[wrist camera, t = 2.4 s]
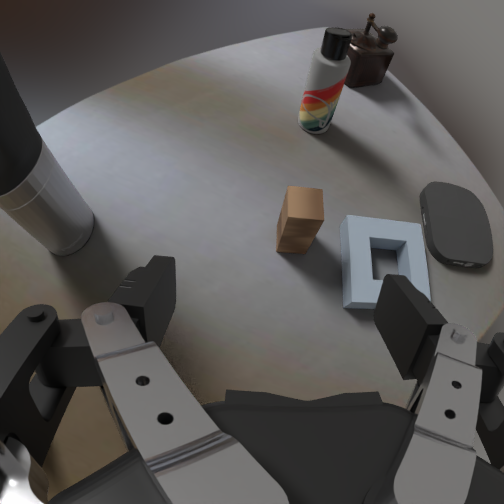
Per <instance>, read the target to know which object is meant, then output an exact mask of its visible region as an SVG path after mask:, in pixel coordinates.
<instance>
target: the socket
mask: <svg viewBox="0 0 504 504" xmlns="http://www.w3.org/2000/svg"><path fill="white" fill-rule="evenodd" d="M340 238H341V257H342V284H343V308H359V309H375V307H376V304H377V300H378V297H379V293H380V290H381V286H382V283H383V280H373V276H372V262H371V250H370V248H377V249H388V250H396V253H397V263H398V273H399V275H405V276H406V277H407V278H408V279H409V281H410V282H411V283H412V284H413V285H414V286H415V288H416V289H418V290H419V291H420V292H422V293H423V294H425V295H426V297H427V298H428V299H429V300H430V301H431V299H430V288H429V279H428V270H427V262H426V255H425V248H424V242H423V235H422V229H421V224H416V223H409V222H401V221H394V220H386V219H377V218H369V217H360V216H352V215H347V216H346V218H345V219H344V221H343V222H342V224H341V225H340ZM430 303H431V302H430Z"/></svg>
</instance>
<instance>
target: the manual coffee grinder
mask: <svg viewBox="0 0 504 504" xmlns="http://www.w3.org/2000/svg"><path fill="white" fill-rule="evenodd" d="M374 18H375V15H374V14H373V13H370V14H369V18H367V21H368V22H367V26H366V28H365V29H346V30H348V31H350V32H351V34H352V40H351V43H350V46H349V49H348V53H347V56H348V57H349V59H350V61H351V63H350V67H349V70H348V73H347V76H346V79H345V82H344V83H345V84H346V85H347V86H349V87H363V86H370V85H375V84H378V83H381V82H382V80H383V77H384V75H385V73H386V71H387V69H388V66H389V64H390V62H391V60H392V57H393V55H394V52H393V51H392V50H390V49H389V48H388V44H391V43H394V42H396V41H397V39H398V37H397V36H398V35H397V33H396V32H395V31H394V30H393V29H392V28H390V27H388V26H381V27H380V28H378V27H377V25H376V24H375V23H374ZM371 25H372V27H373V28H374V29H375V30H376V31H377V33H378V38H376V37H375V36H373V35H372V34H371V33H370V32H369V30H370V27H371Z"/></svg>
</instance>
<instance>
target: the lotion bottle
mask: <svg viewBox="0 0 504 504" xmlns="http://www.w3.org/2000/svg"><path fill="white" fill-rule="evenodd" d="M351 40H352V34H351V32H350V31H348V30H346V29H342V28H326V30H325V34H324V38H323V42H322V46H321V48H318V49H316V50H315V51H314V53H313V57H312V61H311V65H310V69H309V74H308V78H307V82H306V86H305V91H304V95H303V99H302V103H301V108H300V112H299V117H298V122H299V125H300V126H301V128H302V129H304V130H305V131H307V132H309V133H313V134H321V133H324V132H325V131H327V129H328V128H329V125H330V123H331V120H332V117H333V114H334V111H335V109H336V106H337V103H338V100H339V97H340V94H341V91H342V88H343V85H344V82H345V79H346V76H347V73H348V70H349V67H350V63H351V61H350V59H349V57H348V56H347V53H348V49H349V46H350V43H351Z"/></svg>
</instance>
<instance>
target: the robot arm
mask: <svg viewBox="0 0 504 504" xmlns="http://www.w3.org/2000/svg"><path fill="white" fill-rule="evenodd" d="M0 208H2V209H3V210H4V211H5V212H6V213H7V214H8V215H9V216H10V217H11V218H12V219H14V220H15V221H16V222H17V223H18V224H19V225H20V226H21V227H22V228H24V229H25V230H26V231H27V232H28V233H29V234H30V235H32V236H33V237H34V238H35V239H36V240H38V241H39V242H40V243H41V244H42V245H43V246H45V247H46V248H47V249H48V250H50V251H51V252H52V253H54V254H56V255H60V256H64V255H69V254H72V253H74V252H76V251H78V250H79V249H80V248H81V247H82V246H83V245H84V244H85V243H86V242H87V240H88V239H89V237H90V235H91V232H92V230H93V225H94V217H93V213H92V211H91V209H90V208H89V206H88V205H87V204H86V202H85V201H84V199H83V198H82V197H81V195H80V194H79V192H78V191H77V189H76V188H75V187H74V185H73V184H72V182H71V181H70V180H69V178H68V177H67V175H66V174H65V172H64V171H63V169H62V168H61V166H60V165H59V163H58V162H57V160H56V159H55V157H54V156H53V154H52V153H51V151H50V150H49V148H48V147H47V145H46V144H45V142H44V141H43V139H42V138H41V136H40V134H39V133H38V131H37V129H36V127H35V125H34V123H33V121H32V119H31V116H30V114H29V112H28V110H27V108H26V106H25V104H24V102H23V100H22V98H21V97H20V95H19V92H18V91H17V88H16V86H15V84H14V82H13V80H12V77H11V75H10V72H9V70H8V68H7V66H6V63H5V61H4V59H3V56H2V55H1V53H0ZM430 302H431V301H430V300H429V299H428V298H427V297H426V295H425V294H423V293H422V292H420V291H419V290H418V289H416V288H415V286H414V285H413V284H412V283H411V282H410V281H409V279H408V278H407V277H406V276H405V275H393V274H387V275H386V276H385V277H384V279H383V283H382V286H381V290H380V293H379V297H378V300H377V304H376V307H375V311H374V321H375V325H376V327H377V329H378V330H379V332H380V334H381V336H382V338H383V340H384V342H385V344H386V346H387V348H388V350H389V352H390V354H391V356H392V358H393V360H394V362H395V364H396V366H397V368H398V370H399V372H400V374H401V376H402V378H403V380H409V379H417V382H416V384H415V386H414V388H413V390H412V393H411V395H410V398H409V400H408V403H407V405H406V407H405V409H404V408H402V407H399V406H396V405H393V404H389V403H384V402H382V400H381V397H380V395H379V392H362V393H343V394H339V395H335V396H330V397H326V398H321V399H317V400H312V401H303V400H298V399H293V398H289V397H284V396H280V395H275V394H271V393H267V392H251V391H237V390H226V396H225V401H220V402H214V403H209V404H205V405H202V406H201V405H200V404H199V403H198V402H197V400H196V399H195V398H194V396H193V395H192V394H191V392H190V391H189V390H188V388H187V387H186V386H185V384H184V383H183V382H182V380H181V379H180V377H179V376H178V375H177V373H176V372H175V370H174V369H173V368H172V366H171V365H170V363H169V362H168V360H167V359H166V358H165V356H164V355H163V353H162V352H161V350H160V349H159V347H160V345H161V342H162V340H163V337H164V335H165V332H166V330H167V327H168V325H169V322H170V320H171V317H172V315H173V312H174V309H175V304H176V269H175V258H174V257H168V256H157V255H154V256H153V258H152V259H151V260H150V262H149V263H148V264H147V266H146V267H138V268H137V269H135V270H133V271H131V272H130V273H129V274H128V275H127V277H126V278H125V280H124V281H123V282H122V283H121V284H120V287H118V288H117V290H116V291H115V292H114V294H113V295H112V296H111V298H110V299H109V300H108V302H102V303H97V304H94V305H92V306H90V307H88V308H86V309H85V310H84V311H83V313H82V315H81V319H67V320H58V316H57V312H56V310H55V308H53V307H52V306H49V305H44V304H40V305H34V306H30V307H28V308H26V309H24V310H23V311H21V312H20V313H19V314H18V315H17V316H16V318H15V319H14V320H13V321H12V322H11V323H10V324H9V326H8V327H7V328H6V329H5V330H4V331H3V333H2V334H1V335H0V504H504V406H503V405H502V403H501V401H500V400H499V398H498V396H497V395H498V394H499V392H500V391H501V389H502V388H503V386H504V333H496V334H495V335H494V337H493V339H492V341H491V343H490V344H484V343H479V342H477V338H476V336H475V334H474V333H473V332H472V331H471V330H469V329H468V328H466V327H464V326H462V325H460V324H456V323H448V322H447V321H446V319H445V318H444V317H443V316H442V315H441V313H440V312H439V311H438V310H437V309H435V306H434V305H433V304H432V303H430ZM34 371H35V372H36V374H35V376H34V377H33V379H32V381H31V382H30V384H29V381H30V378H31V376H32V374H33V373H34ZM86 386H99V387H100V390H101V392H102V395H103V397H104V399H105V402H106V404H107V407H108V409H109V411H110V414H111V416H112V418H113V420H114V423H115V425H116V427H117V429H118V431H119V434H120V436H121V438H122V441H123V443H124V445H125V447H126V450H127V452H126V453H125V454H123V455H122V456H120V457H119V458H117V459H116V460H114V461H112V462H111V463H109V464H108V465H106V466H104V467H103V468H101V469H99V470H98V471H96V472H94V473H93V474H91V475H89V476H88V477H86V478H84V479H83V480H81V481H79V482H78V483H76V484H74V485H72V486H71V487H69V488H67V489H65V490H63V491H62V492H60V493H58V494H57V495H56V496H54V497H53V498H52V499H51V500H50V501H49V502H48V499H47V494H48V487H49V483H48V478H47V476H46V474H45V472H44V471H43V469H42V468H41V467H42V465H43V462H44V460H45V457H46V455H47V452H48V450H49V447H50V445H51V443H52V440H53V438H54V435H55V433H56V431H57V429H58V426H59V424H60V422H61V419H62V417H63V415H64V413H65V410H66V408H67V406H68V404H69V402H70V400H71V398H72V395H73V393H74V391H75V389H76V387H86ZM475 429H476V431H477V433H478V435H479V437H480V439H481V441H482V444H483V446H484V448H485V450H486V453H487V455H488V457H489V460H490V462H491V464H489V463H488V462H486V461H485V460H483V459H482V458H480V457H478V456H477V455H476V451H475V450H474V449H473V440H474V435H475Z"/></svg>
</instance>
